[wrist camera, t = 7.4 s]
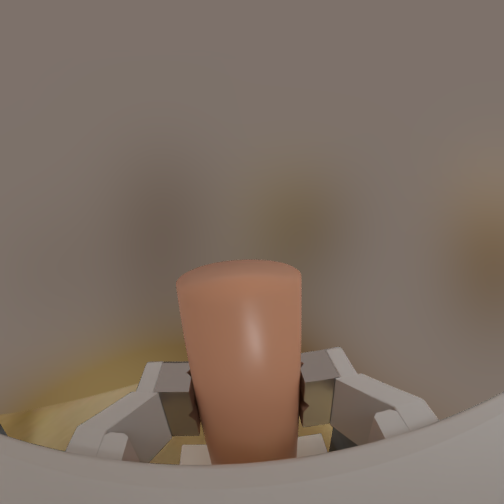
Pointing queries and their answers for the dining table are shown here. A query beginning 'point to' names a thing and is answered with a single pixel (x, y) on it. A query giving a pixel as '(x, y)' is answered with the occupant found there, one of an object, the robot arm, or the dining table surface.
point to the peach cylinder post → (245, 361)
